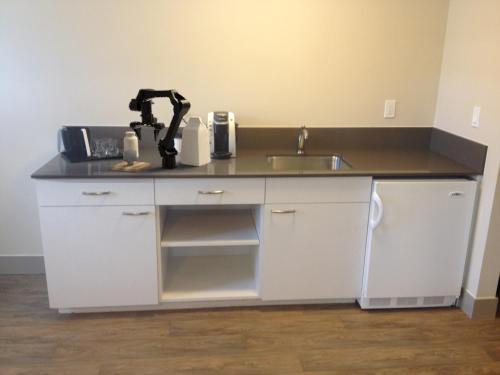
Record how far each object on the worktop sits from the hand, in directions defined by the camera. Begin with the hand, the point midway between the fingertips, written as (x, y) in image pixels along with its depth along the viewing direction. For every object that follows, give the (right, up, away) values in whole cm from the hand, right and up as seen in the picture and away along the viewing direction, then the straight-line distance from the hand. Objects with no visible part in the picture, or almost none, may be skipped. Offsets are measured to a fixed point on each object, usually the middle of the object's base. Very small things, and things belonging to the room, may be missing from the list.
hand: (148, 140), depth 249 cm
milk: (+26, -12, +8) cm, 29 cm away
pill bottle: (-14, -8, +19) cm, 25 cm away
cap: (-8, -11, -6) cm, 15 cm away
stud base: (-8, -15, -5) cm, 18 cm away
